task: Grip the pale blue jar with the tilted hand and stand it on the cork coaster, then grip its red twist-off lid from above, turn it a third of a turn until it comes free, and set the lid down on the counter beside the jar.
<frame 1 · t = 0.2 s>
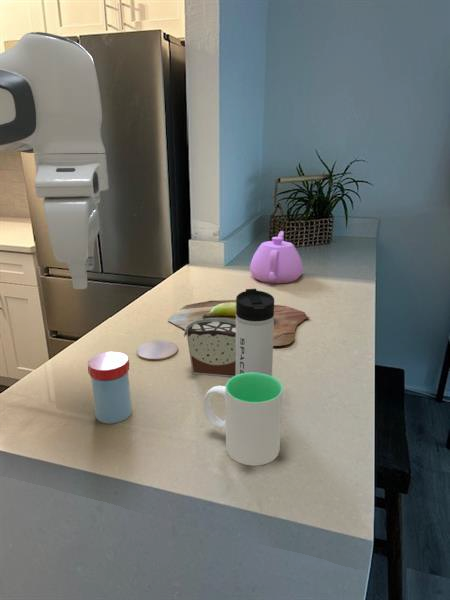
hand: (85, 277, 61), 25 cm above the counter, tool pointing down, fingers open, 8 cm apart
teapot: (276, 276, 148), on the counter
coaster: (157, 351, 95), on the counter
travel mug: (252, 402, 76), on the counter
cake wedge: (218, 368, 87), on the counter
lid: (108, 362, 70), point 10 cm above the counter, screwed on, not yet turned
cutting board: (237, 320, 111), on the counter
jar: (114, 413, 73), on the counter
mug: (240, 444, 65), on the counter
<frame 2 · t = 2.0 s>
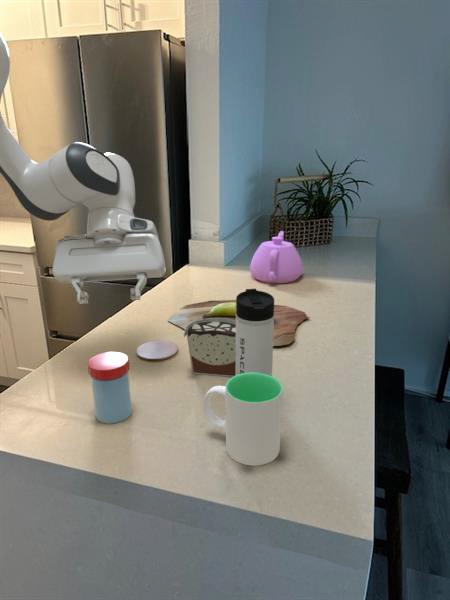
hand: (109, 300, 77), 17 cm above the counter, tool tilted 40°, fingers open, 8 cm apart
nothing on the counter moved.
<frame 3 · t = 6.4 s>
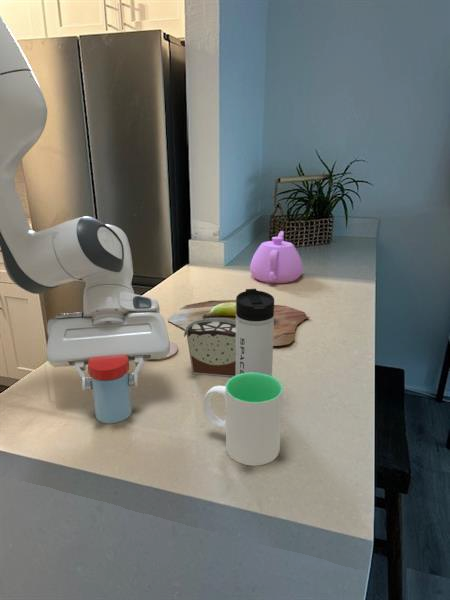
hand: (110, 387, 71), 5 cm above the counter, tool tilted 45°, fingers closed on jar, 6 cm apart
jar: (114, 412, 73), on the counter, touching gripper
everything else where it was.
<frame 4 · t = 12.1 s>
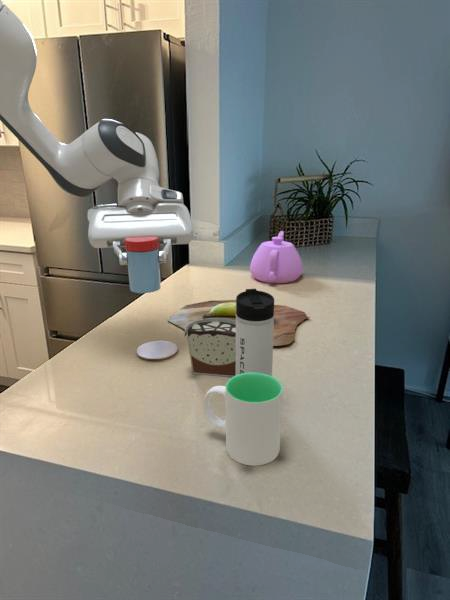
hand: (143, 262, 82), 22 cm above the counter, tool tilted 45°, fingers closed on jar, 6 cm apart
lid: (141, 240, 81), point 26 cm above the counter, screwed on, not yet turned
jar: (145, 288, 85), point 16 cm above the counter, touching gripper
everything else where it was.
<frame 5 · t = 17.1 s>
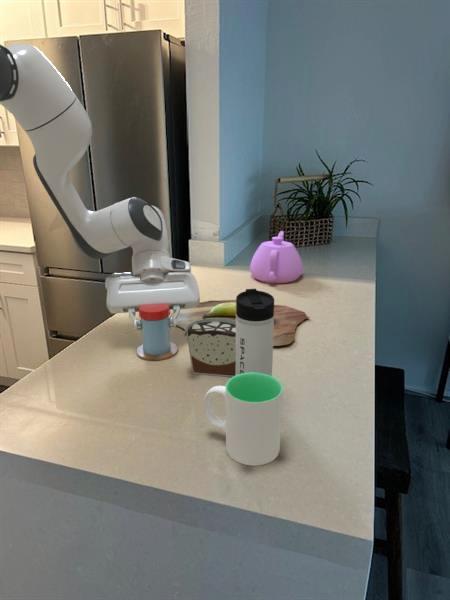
hand: (155, 327, 92), 6 cm above the counter, tool tilted 45°, fingers closed on jar, 6 cm apart
lid: (154, 308, 91), point 10 cm above the counter, screwed on, not yet turned
jar: (156, 349, 94), point 1 cm above the counter, touching coaster, gripper
everything else where it was.
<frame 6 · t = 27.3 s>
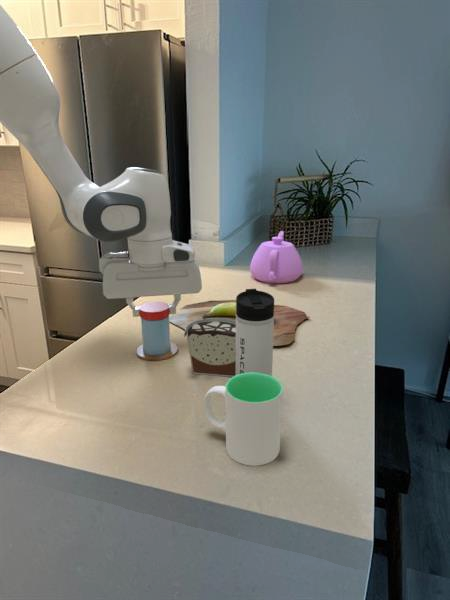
hand: (155, 314, 92), 9 cm above the counter, tool pointing down, fingers closed on lid, 6 cm apart
lid: (154, 308, 91), point 10 cm above the counter, screwed on, not yet turned, touching gripper
jar: (156, 349, 94), point 1 cm above the counter, touching coaster
everything else where it was.
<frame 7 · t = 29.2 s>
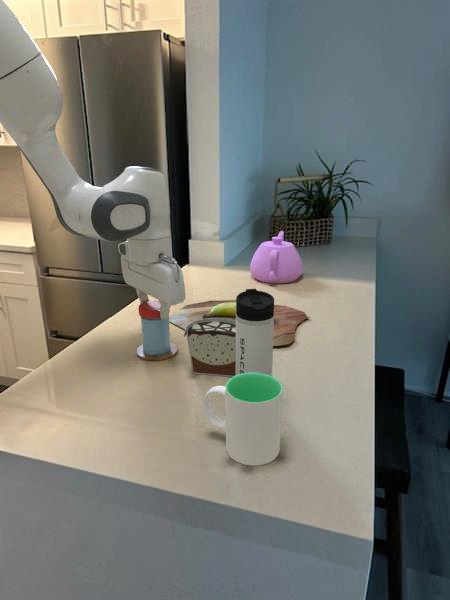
hand: (154, 313, 92), 9 cm above the counter, tool pointing down, fingers closed on lid, 6 cm apart
lid: (153, 307, 91), point 10 cm above the counter, off its thread, touching gripper
everything else where it was.
when the fingers open (0 cm above the counter, at t = 38.8 s): lid stays where it is, point 1 cm above the counter.
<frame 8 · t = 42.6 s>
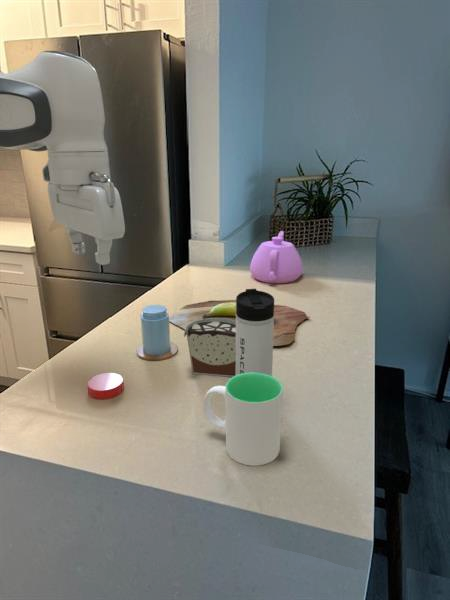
hand: (90, 258, 71), 25 cm above the counter, tool pointing down, fingers open, 8 cm apart
lid: (105, 383, 79), point 1 cm above the counter, off its thread
everything else where it was.
at the end: lid came off its thread; lid inside the target area (0.2 cm from its centre), point 1.4 cm above the counter; jar 0.1 cm off-centre on the coaster, point 0.5 cm above the coaster's base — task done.
